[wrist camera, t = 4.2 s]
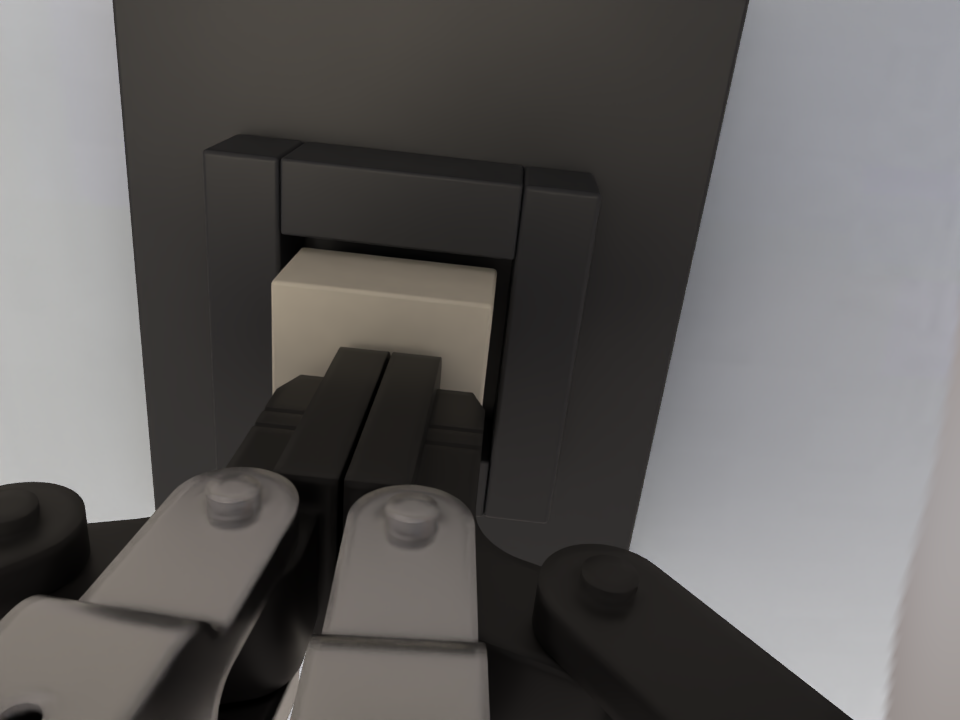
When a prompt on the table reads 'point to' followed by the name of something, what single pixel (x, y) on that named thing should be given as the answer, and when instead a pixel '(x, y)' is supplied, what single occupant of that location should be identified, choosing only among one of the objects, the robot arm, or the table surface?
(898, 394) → the table surface
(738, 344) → the table surface
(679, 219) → the dark grey button panel
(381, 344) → the key
